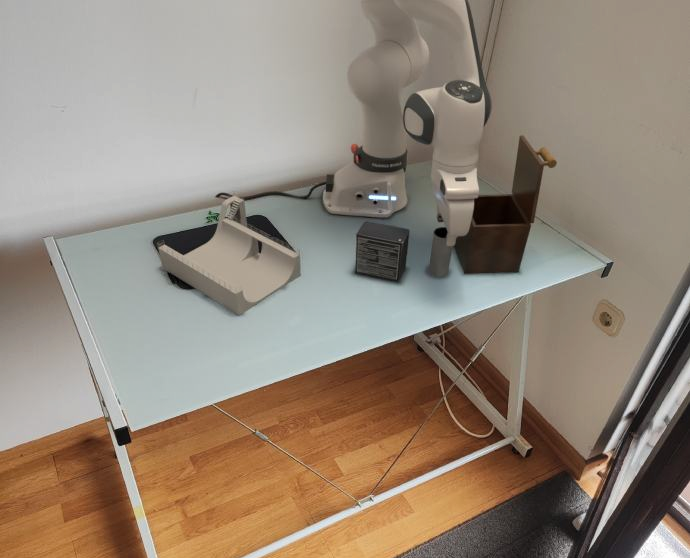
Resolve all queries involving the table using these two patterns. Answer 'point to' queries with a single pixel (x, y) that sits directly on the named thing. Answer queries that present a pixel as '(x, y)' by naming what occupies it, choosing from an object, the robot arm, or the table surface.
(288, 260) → the skate ramp
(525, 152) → the box lid
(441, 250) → the grey hollow cylinder
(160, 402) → the table surface
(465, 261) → the storage box
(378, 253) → the small box
